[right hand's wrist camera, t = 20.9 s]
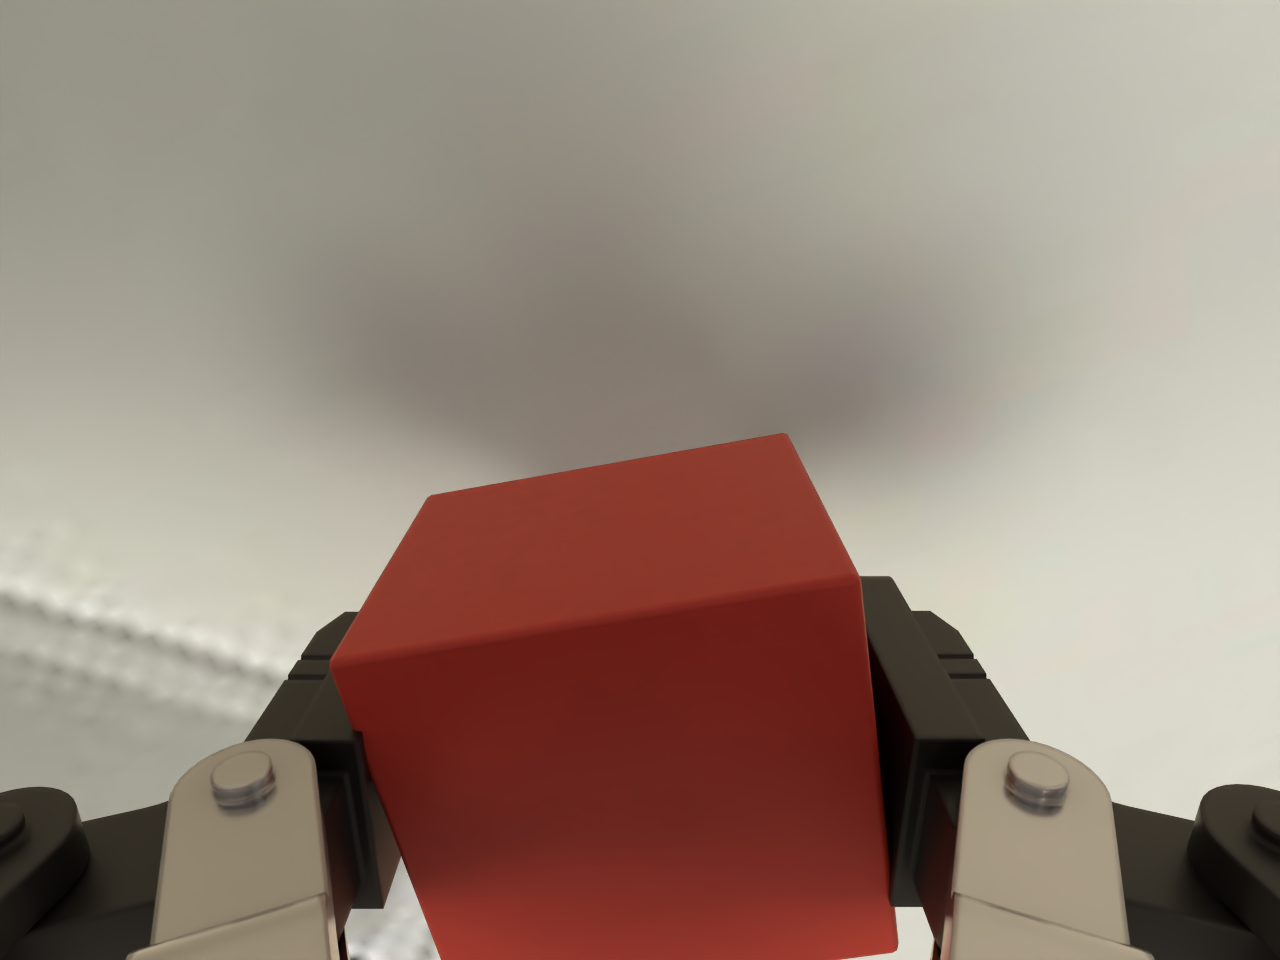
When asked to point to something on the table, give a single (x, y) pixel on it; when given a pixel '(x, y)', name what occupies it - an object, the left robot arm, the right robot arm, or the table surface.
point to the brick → (629, 716)
